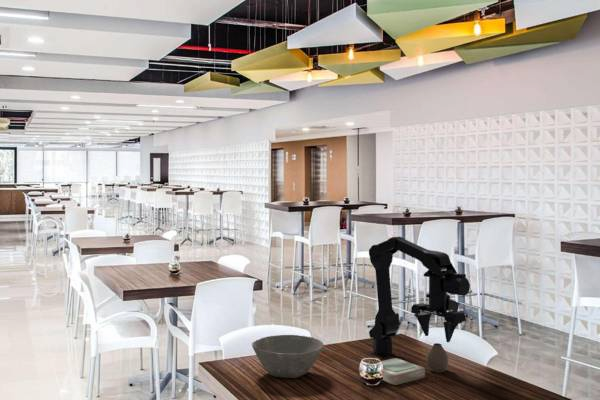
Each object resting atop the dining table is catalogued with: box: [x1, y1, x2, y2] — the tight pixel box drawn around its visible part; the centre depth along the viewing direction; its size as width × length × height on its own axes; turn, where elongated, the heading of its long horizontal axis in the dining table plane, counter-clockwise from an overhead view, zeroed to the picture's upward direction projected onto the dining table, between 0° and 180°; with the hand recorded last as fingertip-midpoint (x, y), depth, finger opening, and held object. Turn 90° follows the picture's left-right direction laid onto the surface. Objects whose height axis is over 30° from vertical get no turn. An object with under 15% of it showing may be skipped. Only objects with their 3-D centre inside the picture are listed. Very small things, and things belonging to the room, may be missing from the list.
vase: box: [426, 342, 449, 373], centre depth 183 cm, size 7×7×9 cm
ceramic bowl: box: [251, 334, 325, 379], centre depth 179 cm, size 22×23×10 cm
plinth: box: [380, 357, 426, 386], centre depth 178 cm, size 13×13×3 cm
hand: (437, 338), depth 183 cm, fingers open, 9 cm apart
